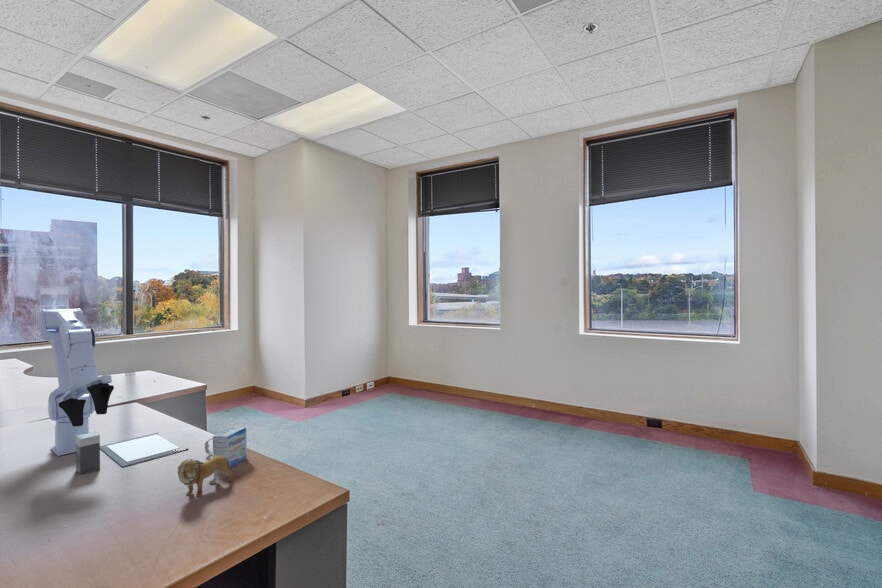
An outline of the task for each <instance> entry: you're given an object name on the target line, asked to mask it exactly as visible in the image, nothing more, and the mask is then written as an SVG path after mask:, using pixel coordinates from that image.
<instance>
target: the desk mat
mask: <svg viewBox="0 0 882 588" xmlns="http://www.w3.org/2000/svg"><path fill="white" fill-rule="evenodd" d="M158 433H159V432H156V433H151V434H148V435H141V436H138V437H133V438H129V439H124V440H120V441H116V442H113V443H108V444H104V445H100V451H101V452H103V453H104V454H105V455H107V456H108V457H109V458H110V459H111V460H113V461H114V462H115V464H118V465H119V466H120V468H126V467H129V466H134V465H137V464H141V463H145V462H148V461H152V460H155V458H156V459H159V458H162V457H161V456H163V457H166V456H165V455H167V456H169V455H168V454H170V455H172V454H171V453H174V452H178V450H177V451H176V449H179V448H180V447H178V446H176V445H175V444H173V443H171V442H170V441H168V440H166V439H164V438H163V437H161V436H159V434H158ZM173 450H175V451H173ZM180 451H181V450H180ZM181 452H182V451H181ZM178 453H179V452H178ZM174 454H175V453H174ZM158 457H159V458H158Z"/></svg>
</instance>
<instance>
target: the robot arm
mask: <svg viewBox="0 0 882 588" xmlns="http://www.w3.org/2000/svg"><path fill="white" fill-rule="evenodd" d="M38 323H39V329H40V330H39V331H40V336H41V337H42V340H43V341H46V342H49V343H50V346H51V348H52V351H53V358H54V363H55V369H56V377H57V381H58V382H57V383H58V387H57V388H55V389H54V390H53V391H51V392H50V394H49V396H48V399H47V404H48V405H47V406H48V407H47V408H48V410H47V411H48V416H49V417H48V418H49V420H51V421H53V422H54V421H55V426H54V445H52V446H50V449H51V450H52V451H53V453H54V454H55V455H56V456H57V457H60V456H64V455H68V454H69V455H70V454H73V453H76V436H77V435H82V434H86V433H90V432H89V431H90V430H89V429H90V427H89V425H90V424H89V423H90V422H89V420H90V419H89V418H91V415H93V414H94V412H95V414H96V415H106V414H107V413H108V408H109V401H110V398H111V395H112V393H113V391H114V389H115V386H114V385H111V383H113V379H112V375H110V374H102V375H100V376H98V375H99V374H98V367H97V360H96V354H95V353H96V352H95V348H96V341H97V338H96V336H97V335H96V332H95V330H94V328H93V327H90V328H87V327H86V326H85V324H84V312H83V310H82V309H81V308H80V307H77V308H57V309H54V308H53V309H45V308H41V310H39V315H38Z"/></svg>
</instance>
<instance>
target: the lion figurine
mask: <svg viewBox="0 0 882 588" xmlns="http://www.w3.org/2000/svg"><path fill="white" fill-rule="evenodd" d="M220 472H221V473H222V474H224V475H227V476H228V478H227V479H226V482H227V483H231V482H233V480H234V477H233V476H234V475H233V471H232V470H231V468H230V464H229V461H228V459H227V458H226V457H225V456H216V457H214V458H213V457H212V458H211V459H208V460H207V461H204V462H203V461H199V460H198V459H193V458H188V459H184V460H183V461H181V462H180V464H179V465H178V466H177V475H178V479H179V481H180V483H182V484H183V485H184V486H187V488H188V491H187V492H186V494H185V495H186V496H191V495H192V494H193V492H194V485H195V484H196V486H197V489H196V490H197V491H196V494H195V497H196V498H197V497H198V498H200V497H202V496H203V483H204V479H207V478H209V477H211V476H212V475H214V477H213V479H212V480H210V481H209V484H210V485H212V484H213V485H214V484H215V483H216V481H217V480H218V478H220Z"/></svg>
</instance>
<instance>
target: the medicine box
mask: <svg viewBox="0 0 882 588" xmlns="http://www.w3.org/2000/svg"><path fill="white" fill-rule="evenodd" d="M212 438H213V439H212V453H213V456H212V458H214V457H216V456H225V457H226V458H227V459H228V461H229V464H230V469H231V468H233V467H235V466H236V465H238V464H239V463H241V462H242V461H245V460H246V459H247V456H248V455H247V453H248V452H247V428H246V427H242V426H232V427H230V428H228V429H226V430H223V431H221V432H219V433H217V434H215V435H213V436H212Z"/></svg>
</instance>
